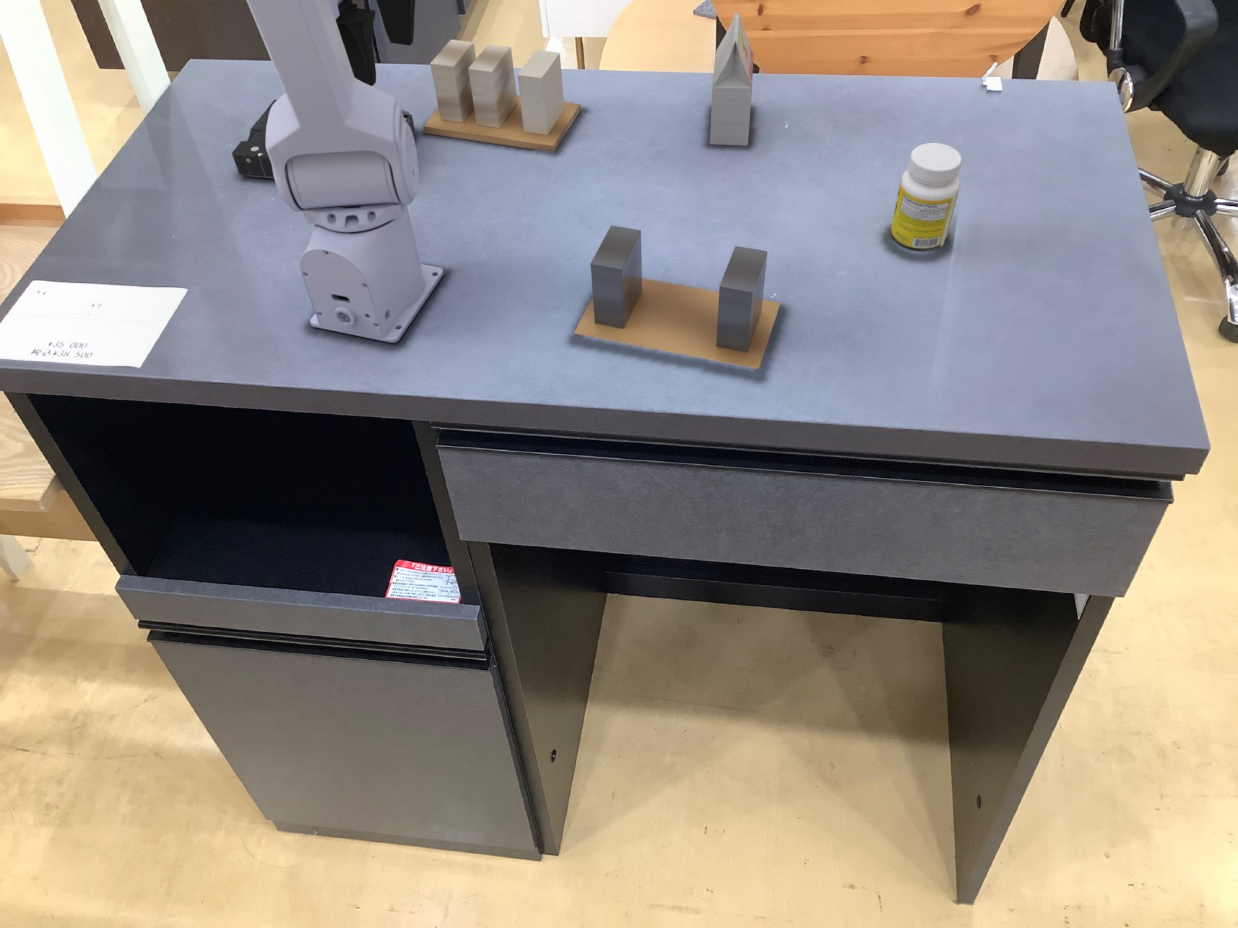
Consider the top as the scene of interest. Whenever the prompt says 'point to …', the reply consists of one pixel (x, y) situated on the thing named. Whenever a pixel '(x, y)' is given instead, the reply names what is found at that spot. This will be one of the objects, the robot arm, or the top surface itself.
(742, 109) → the gable top juice carton
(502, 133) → the cream rack
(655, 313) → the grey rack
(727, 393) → the top surface
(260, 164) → the disk drive
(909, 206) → the supplement bottle
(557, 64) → the beige block
